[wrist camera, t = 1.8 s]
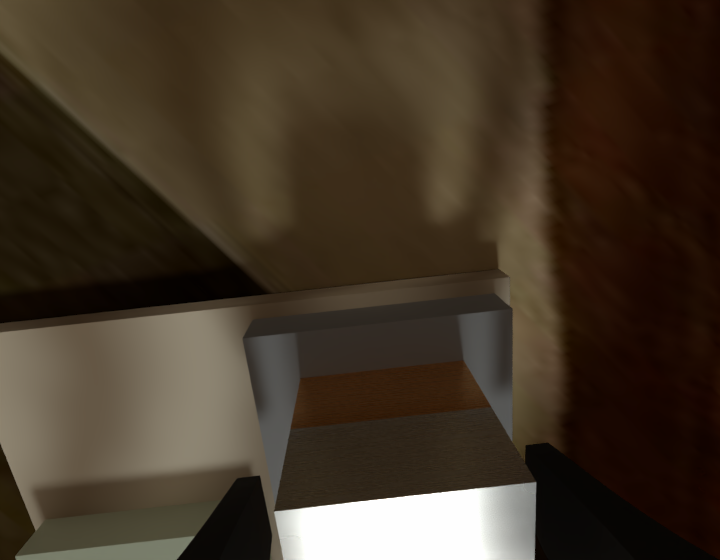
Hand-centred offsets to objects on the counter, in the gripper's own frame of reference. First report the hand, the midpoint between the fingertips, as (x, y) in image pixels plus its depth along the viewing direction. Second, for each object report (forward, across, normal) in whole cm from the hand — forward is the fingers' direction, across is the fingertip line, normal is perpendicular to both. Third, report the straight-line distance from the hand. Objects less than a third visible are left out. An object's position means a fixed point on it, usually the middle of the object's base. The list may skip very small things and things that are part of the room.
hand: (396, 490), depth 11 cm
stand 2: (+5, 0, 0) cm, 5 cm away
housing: (+2, 0, 0) cm, 2 cm away
